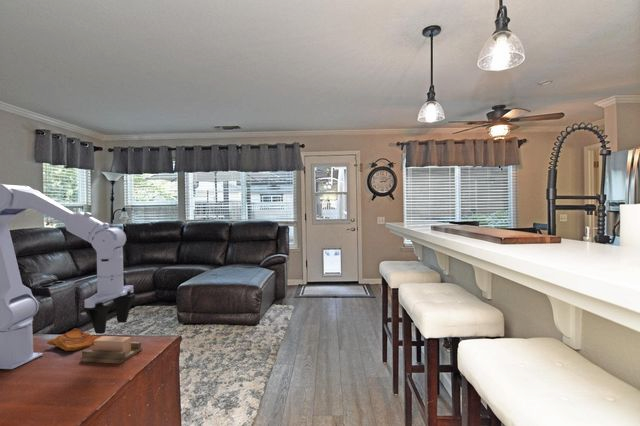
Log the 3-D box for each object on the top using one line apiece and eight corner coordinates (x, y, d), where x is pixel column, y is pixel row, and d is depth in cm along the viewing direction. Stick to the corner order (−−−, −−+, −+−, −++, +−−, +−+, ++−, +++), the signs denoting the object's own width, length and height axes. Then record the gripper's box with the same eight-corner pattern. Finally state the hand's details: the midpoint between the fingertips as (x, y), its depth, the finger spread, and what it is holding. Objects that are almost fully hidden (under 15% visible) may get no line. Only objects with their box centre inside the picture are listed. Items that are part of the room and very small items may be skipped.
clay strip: (94, 354, 87) (93, 340, 87) (103, 349, 90) (102, 335, 90) (122, 355, 86) (122, 341, 85) (131, 350, 89) (130, 337, 88)
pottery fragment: (75, 327, 100) (102, 324, 98) (78, 342, 100) (105, 340, 98) (39, 341, 91) (68, 338, 88) (43, 358, 91) (72, 356, 88)
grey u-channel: (80, 361, 84) (80, 352, 84) (105, 347, 92) (104, 339, 92) (121, 363, 83) (120, 354, 83) (142, 349, 91) (142, 341, 91)
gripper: (103, 281, 79) (104, 339, 80) (143, 269, 94) (144, 318, 94) (75, 281, 80) (77, 337, 81) (119, 269, 95) (120, 317, 95)
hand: (111, 327), depth 87 cm, fingers open, 7 cm apart
